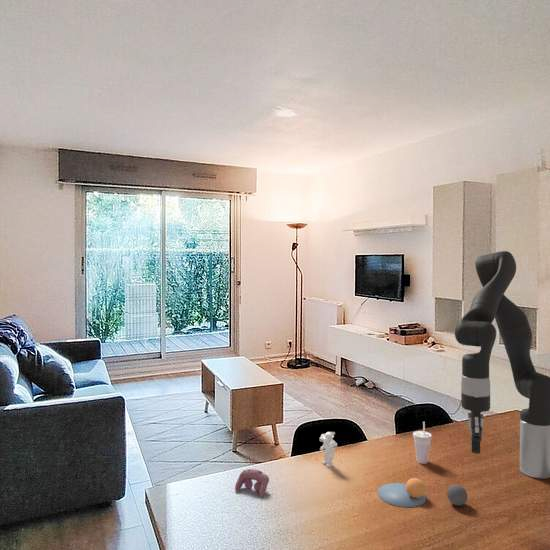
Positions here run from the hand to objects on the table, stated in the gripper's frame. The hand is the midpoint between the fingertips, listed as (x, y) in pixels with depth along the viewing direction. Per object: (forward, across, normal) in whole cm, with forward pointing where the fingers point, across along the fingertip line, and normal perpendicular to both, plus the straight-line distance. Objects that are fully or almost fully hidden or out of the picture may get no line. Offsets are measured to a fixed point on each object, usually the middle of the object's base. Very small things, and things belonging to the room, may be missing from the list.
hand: (475, 452), depth 130 cm
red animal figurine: (+16, +12, -64) cm, 67 cm away
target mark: (+16, 0, -20) cm, 26 cm away
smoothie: (+16, -27, -16) cm, 35 cm away
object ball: (+13, 0, -16) cm, 21 cm away
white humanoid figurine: (+16, -13, -46) cm, 51 cm away
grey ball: (+13, 0, -5) cm, 14 cm away
